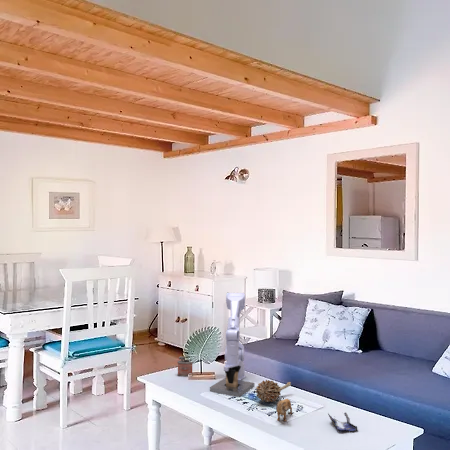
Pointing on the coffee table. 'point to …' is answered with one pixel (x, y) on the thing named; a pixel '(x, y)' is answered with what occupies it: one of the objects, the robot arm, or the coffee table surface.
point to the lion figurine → (283, 408)
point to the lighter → (184, 367)
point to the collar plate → (232, 388)
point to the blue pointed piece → (344, 424)
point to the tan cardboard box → (235, 381)
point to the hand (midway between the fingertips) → (232, 382)
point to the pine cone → (269, 390)
